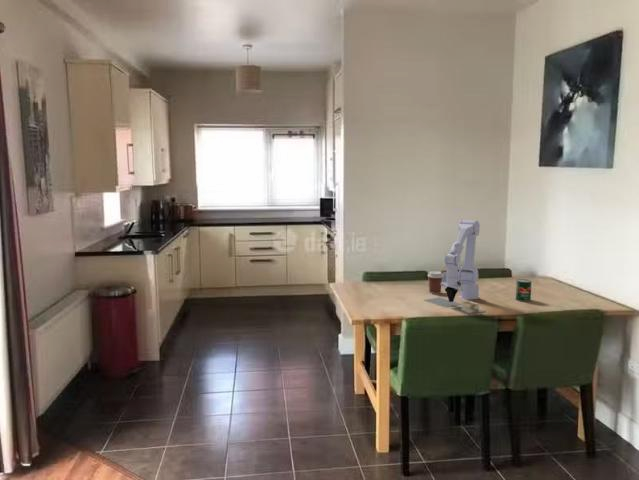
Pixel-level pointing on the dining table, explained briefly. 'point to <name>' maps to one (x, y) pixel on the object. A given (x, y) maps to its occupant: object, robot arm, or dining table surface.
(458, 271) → the tin
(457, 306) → the slide mat
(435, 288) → the coffee cup
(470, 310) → the ash block
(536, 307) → the dining table surface
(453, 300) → the robot arm
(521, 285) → the canned tomato
